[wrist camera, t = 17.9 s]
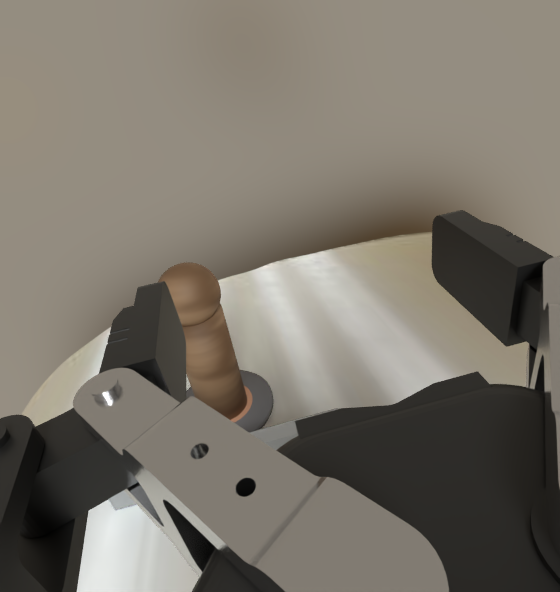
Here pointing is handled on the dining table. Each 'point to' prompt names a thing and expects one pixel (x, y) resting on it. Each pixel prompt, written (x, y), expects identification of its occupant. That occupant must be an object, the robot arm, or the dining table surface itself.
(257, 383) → the pad
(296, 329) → the dining table surface
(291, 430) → the low wall
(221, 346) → the skittle
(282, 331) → the dining table surface
